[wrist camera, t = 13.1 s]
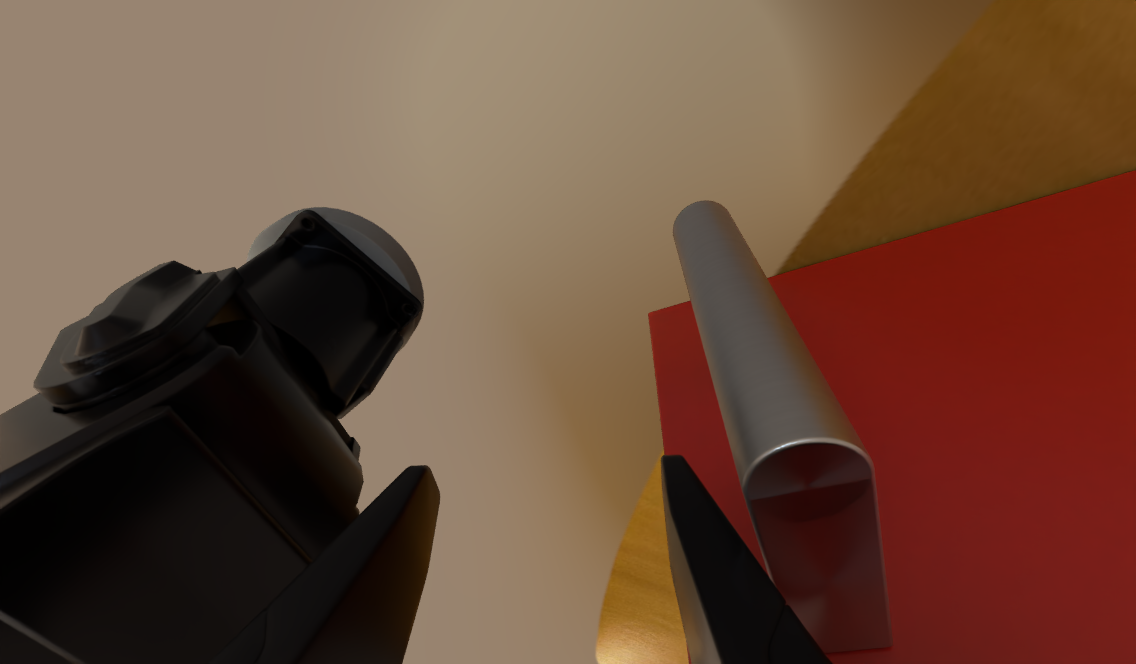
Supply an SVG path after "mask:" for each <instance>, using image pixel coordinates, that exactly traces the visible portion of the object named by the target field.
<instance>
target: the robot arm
mask: <svg viewBox="0 0 1136 664" xmlns="http://www.w3.org/2000/svg"><path fill="white" fill-rule="evenodd" d="M306 219H309V220H310V221H311V222H312V224H313V226H310V225H309V224H308V223H307V222H306ZM406 304H409V305H411V306H412V307H413V308H414V309H409V308H408V307H407V306H406ZM421 308H422V305H421V302H420V301H419V300H418V299H417V298H416V297H415V296H414V295H413V294H412V293H410V292H409V291H408V290H407V289H406V288H405V287H403V286H402V285H401V284H400V283H399V282H397V281H396V280H395V279H394V278H393V277H392V276H390V275H389V274H388V273H387V272H386V271H385V270H383V269H382V268H381V267H380V266H379V265H378V264H376V263H375V262H374V261H373V260H372V259H371V258H369V257H368V256H367V255H366V254H365V253H364V252H362V251H361V250H360V249H359V248H358V247H356V246H355V245H354V244H353V243H352V242H351V241H349V240H348V239H347V238H346V237H345V236H344V235H342V234H341V233H340V232H339V231H338V230H337V229H335V228H334V227H333V226H332V225H331V224H330V223H328V222H327V221H326V220H325V219H324V218H323V217H321V216H320V215H319V214H318V213H316V212H315V211H312V210H304V211H303V212H301V213H300V214H298V215H297V216H296V217H295V219H294V220H293V221H292V222H291V224H290V225H289V226H288V227H287V229H286V230H285V231H284V232H283V234H282V235H281V236H280V237H279V239H278V240H277V241H276V242H275V244H273V245H272V246H270V247H269V248H267V249H266V250H265V251H263V252H262V253H260V254H259V255H257V256H256V257H254V258H253V259H251V260H250V261H248V262H247V263H246V264H244V265H243V266H241V267H240V268H238V269H236V268H235V267H232V268H229V269H225V270H222V271H217V272H210V273H203V274H202V272H201V271H200V270H197V271H196V270H193V269H191V268H189V267H187V266H185V265H183V264H181V263H178V262H176V261H171V262H167V263H163V264H160V265H158V266H157V267H154V268H152V269H151V270H149V271H147V272H145V273H144V274H142V275H140V276H138V277H136V278H135V279H133V280H131V281H129V282H128V283H126V284H124V285H123V286H121V287H120V288H118V289H117V290H115V291H114V292H113V293H111V294H110V295H109V296H108V297H107V298H106V300H105V301H104V302H103V303H101V304H99V305H98V306H96V307H95V308H94V309H93V311H92V312H91V313H90V315H89V316H87V317H85V318H83V319H81V320H79V321H77V322H75V323H73V324H71V325H69V326H67V327H65V328H64V329H62V330H61V331H60V333H59V335H58V337H57V339H56V341H55V342H54V344H53V346H52V348H51V350H50V352H49V354H48V356H47V358H46V360H45V362H44V364H43V366H42V367H41V369H40V371H39V373H38V375H37V377H36V379H35V381H34V388H35V389H36V390H37V391H38V392H39V393H38V394H37V395H35V396H33V397H31V398H30V399H28V400H26V401H24V402H22V403H21V404H19V405H17V406H15V407H13V408H12V409H10V410H8V411H6V412H5V413H3V414H1V415H0V664H402V663H403V659H404V655H405V652H406V648H407V645H408V641H409V637H410V634H411V631H412V627H413V623H414V620H415V616H416V612H417V609H418V606H419V602H420V598H421V595H422V591H423V588H424V584H425V580H426V576H427V573H428V568H429V562H430V557H431V551H432V545H433V539H434V533H435V527H436V521H437V515H438V509H439V504H440V492H439V489H438V486H437V484H436V481H435V479H434V476H433V474H432V471H431V469H430V468H429V467H428V466H426V465H424V466H422V465H421V466H410V467H408V468H406V469H405V470H404V471H403V472H402V473H401V474H400V475H399V476H398V477H397V478H396V479H395V480H394V481H393V482H392V483H391V484H390V485H389V486H388V487H387V488H386V489H385V490H384V491H383V492H382V493H381V494H380V495H379V496H378V497H377V498H376V499H375V500H374V501H373V502H372V503H371V504H370V505H369V506H368V507H367V508H366V509H365V510H364V511H363V512H362V513H361V514H360V515H359V510H358V508H357V507H356V504H357V503H358V499H359V496H360V492H361V489H362V485H363V482H364V481H363V475H362V468H361V465H360V463H359V462H358V461H359V454H360V446H359V444H358V443H357V441H356V440H355V439H354V438H353V437H350V436H349V435H348V433H347V432H346V430H345V429H344V428H343V426H342V425H341V423H340V422H339V420H338V419H341V418H343V417H344V416H345V415H346V414H347V413H349V412H350V411H351V410H352V409H353V408H354V407H356V406H357V405H358V404H359V403H360V402H361V401H363V400H364V399H365V398H366V397H367V396H369V395H370V394H371V392H372V391H373V390H374V388H375V387H376V385H377V383H378V382H379V380H380V379H381V377H382V376H383V374H384V372H385V371H386V369H387V368H388V366H389V365H390V363H391V361H392V360H393V358H394V357H395V355H396V354H397V352H398V350H399V349H400V347H401V346H402V344H403V337H402V336H401V335H400V334H398V333H399V332H400V331H401V330H402V329H403V328H404V327H405V326H406V325H408V324H409V323H410V322H411V321H412V320H413V319H414V318H415V317H416V316H417V315H418V314H419V312H420V310H421ZM661 474H662V492H663V502H664V512H665V522H666V531H667V541H668V551H669V559H670V567H671V572H672V578H673V583H674V587H675V592H676V596H677V600H678V605H679V609H680V614H681V618H682V623H683V627H684V632H685V636H686V641H687V645H688V650H689V654H690V659H691V663H692V664H833V663H832V662H831V661H830V659H829V658H828V657H827V656H826V654H825V653H824V652H823V650H822V649H821V648H820V646H819V645H818V644H817V642H816V641H815V640H814V638H813V637H812V636H811V634H810V633H809V632H808V630H807V629H806V628H805V627H804V625H803V624H802V622H801V621H800V620H799V618H798V617H797V615H796V614H795V612H794V611H793V610H792V608H791V607H790V606H789V605H786V600H785V599H784V597H783V596H782V595H781V593H780V592H779V590H778V589H777V587H776V586H775V585H774V583H773V582H772V580H771V579H770V578H769V576H768V575H767V573H766V572H765V571H764V569H763V568H762V566H761V565H760V564H759V562H758V561H757V559H756V558H755V556H754V555H753V554H752V552H751V551H750V549H749V548H748V547H747V545H746V544H745V542H744V541H743V540H742V538H741V537H740V535H739V534H738V533H737V531H736V530H735V528H734V527H733V525H732V524H731V523H730V521H729V520H728V518H727V517H726V516H725V514H724V513H723V511H722V510H721V509H720V507H719V506H718V504H717V503H716V502H715V500H714V499H713V497H712V496H711V495H710V493H709V492H708V490H707V489H706V487H705V486H704V485H703V483H702V482H701V480H700V479H699V478H698V476H697V475H696V473H695V472H694V471H693V469H692V468H691V466H690V465H689V464H688V462H687V461H686V459H685V458H684V457H683V456H682V455H679V454H677V455H663V456H662V457H661Z"/></svg>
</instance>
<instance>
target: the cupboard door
mask: <svg viewBox="0 0 1136 664" xmlns="http://www.w3.org/2000/svg"><path fill="white" fill-rule="evenodd" d="M673 236H674V240H675V244H676V248H677V251H678V255H679V258H680V262H681V266H682V270H683V274H684V277H685V281H686V285H687V289H688V292H689V296H690V300H691V301H687V302H684V303H681V304H677V305H674V306H670V307H667V308H664V309H660V310H657V311H653V312H650V313H649V314H648V317H649V325H650V334H651V343H652V351H653V360H654V368H655V377H656V385H657V394H658V402H659V411H660V420H661V428H662V436H663V446H664V454H665V455H677V454H679V455H682V456H683V457H684V458H685V459H686V461H687V462H688V464H689V465H690V466H691V468H692V469H693V471H694V472H695V473H696V475H697V476H698V478H699V479H700V480H701V482H702V483H703V485H704V486H705V487H706V489H707V490H708V492H709V493H710V495H711V496H712V497H713V499H714V500H715V502H716V503H717V504H718V506H719V507H720V509H721V510H722V511H723V513H724V514H725V516H726V517H727V518H728V520H729V521H730V523H731V524H732V525H733V527H734V528H735V530H736V531H737V533H738V534H739V535H740V537H741V538H742V540H743V541H744V542H745V544H746V545H747V547H748V548H749V549H750V551H751V552H752V554H753V555H754V556H755V558H756V559H757V561H758V562H759V564H760V565H761V566H762V568H763V569H764V571H765V572H766V573H767V575H768V576H769V578H770V579H771V580H772V582H773V583H774V585H775V586H776V587H777V589H778V590H779V592H780V593H781V595H782V596H783V597H784V599H785V600H786V605H789V606H790V607H791V608H792V610H793V611H794V612H795V614H796V615H797V617H798V618H799V620H800V621H801V622H802V624H803V625H804V627H805V628H806V629H807V630H808V632H809V633H810V634H811V636H812V637H813V638H814V640H815V641H816V642H817V644H818V645H819V646H820V648H821V649H822V650H823V652H824V653H825V654H826V656H827V657H828V658H829V659H830V661H831V662H832V663H833V664H1136V170H1134V171H1131V172H1128V173H1124V174H1121V175H1117V176H1114V177H1111V178H1107V179H1104V180H1100V181H1097V182H1094V183H1090V184H1087V185H1083V186H1080V187H1076V188H1073V189H1070V190H1066V191H1063V192H1059V193H1056V194H1053V195H1049V196H1046V197H1042V198H1039V199H1035V200H1032V201H1029V202H1025V203H1022V204H1018V205H1015V206H1012V207H1008V208H1005V209H1001V210H998V211H995V212H991V213H988V214H984V215H981V216H977V217H974V218H971V219H967V220H964V221H960V222H957V223H954V224H950V225H947V226H943V227H940V228H937V229H933V230H930V231H926V232H923V233H919V234H916V235H913V236H909V237H906V238H902V239H899V240H896V241H892V242H889V243H885V244H882V245H878V246H875V247H872V248H868V249H865V250H861V251H858V252H855V253H851V254H848V255H844V256H841V257H838V258H834V259H831V260H827V261H824V262H820V263H817V264H814V265H810V266H807V267H803V268H800V269H797V270H793V271H790V272H786V273H783V274H780V275H776V276H773V277H769V278H767V277H766V276H765V274H764V272H763V271H762V269H761V267H760V265H759V264H758V262H757V260H756V258H755V257H754V255H753V253H752V252H751V250H750V248H749V247H748V245H747V243H746V241H745V239H744V238H743V236H742V234H741V233H740V231H739V229H738V227H737V226H736V224H735V222H734V221H733V219H732V217H731V215H730V214H729V212H728V211H727V209H726V208H725V207H723V206H722V205H720V204H719V203H716V202H713V201H699V202H695V203H693V204H691V205H689V206H687V207H686V208H684V209H683V210H682V211H681V212H680V214H679V215H678V216H677V218H676V220H675V223H674V227H673ZM686 642H687V641H686ZM687 651H688V660H689V664H692V663H691V659H690V654H689V650H688V645H687Z"/></svg>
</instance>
